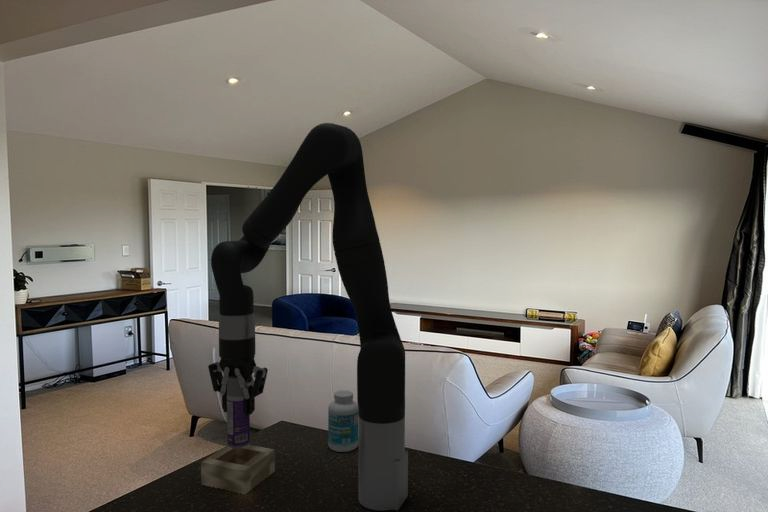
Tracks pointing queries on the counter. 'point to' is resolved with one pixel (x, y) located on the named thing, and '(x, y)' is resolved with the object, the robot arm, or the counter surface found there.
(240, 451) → the socket block
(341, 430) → the pill bottle
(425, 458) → the counter surface
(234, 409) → the container
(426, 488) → the counter surface
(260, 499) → the counter surface
